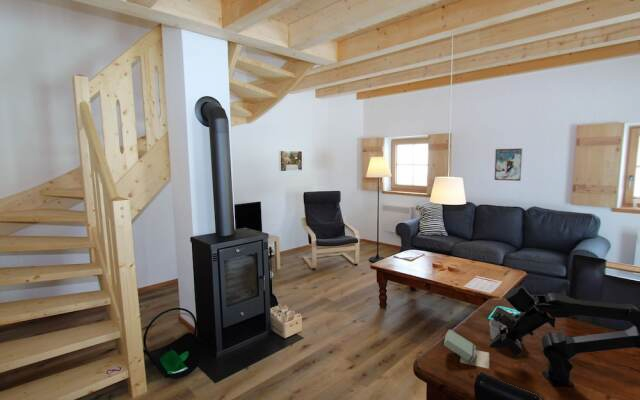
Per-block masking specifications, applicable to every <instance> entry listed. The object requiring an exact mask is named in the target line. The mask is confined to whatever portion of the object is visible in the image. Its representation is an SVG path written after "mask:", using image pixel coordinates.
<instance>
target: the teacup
mask: <svg viewBox="0 0 640 400" xmlns="http://www.w3.org/2000/svg"><path fill="white" fill-rule="evenodd" d="M488 324H489V334H490V338H491V341H492V340H493V339H494V338H495V337H496V335H497V334H498V333H499V325H501V326H503V324H501V323H500V322H497V321H495V320H494V319H493V320H489V323H488ZM517 341H518V342H519V343H520V344H521V342H520V341H519V340H518V339H517Z"/></svg>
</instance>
